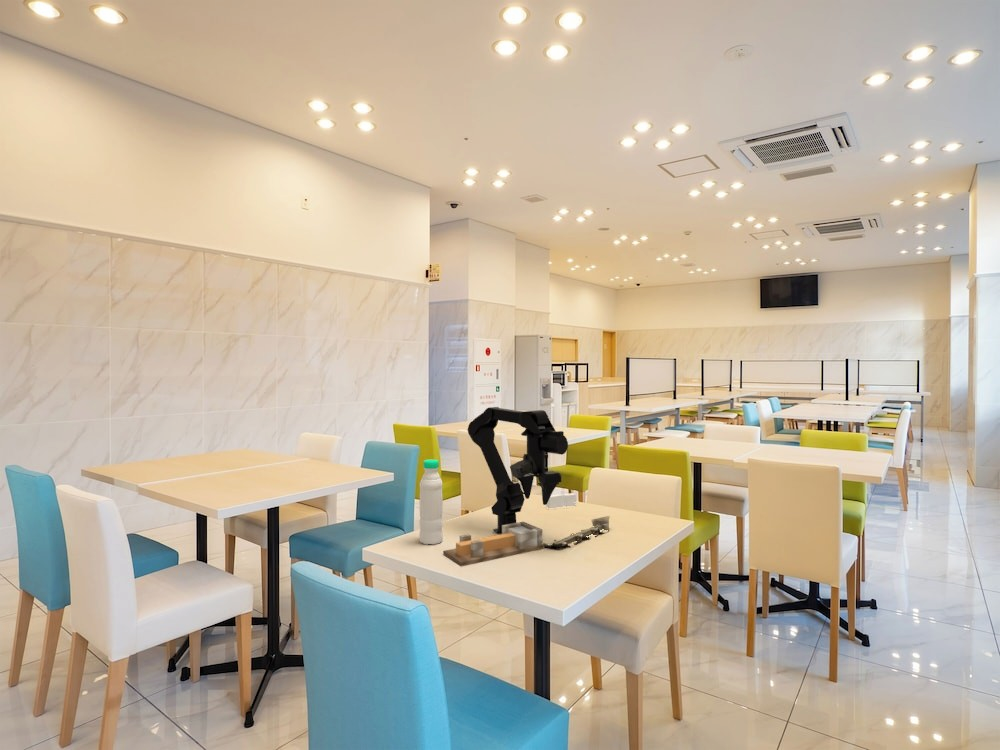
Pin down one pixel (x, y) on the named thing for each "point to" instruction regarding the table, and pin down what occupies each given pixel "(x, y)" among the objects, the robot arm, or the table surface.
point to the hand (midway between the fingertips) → (535, 501)
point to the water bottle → (431, 504)
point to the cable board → (526, 543)
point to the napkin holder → (561, 500)
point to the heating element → (583, 533)
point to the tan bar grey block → (492, 542)
